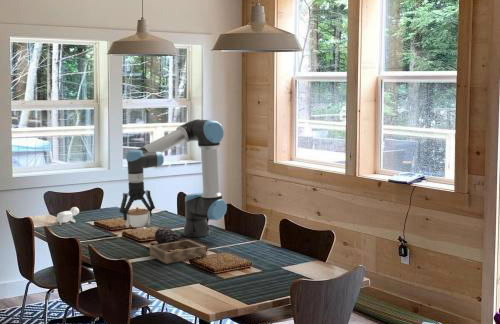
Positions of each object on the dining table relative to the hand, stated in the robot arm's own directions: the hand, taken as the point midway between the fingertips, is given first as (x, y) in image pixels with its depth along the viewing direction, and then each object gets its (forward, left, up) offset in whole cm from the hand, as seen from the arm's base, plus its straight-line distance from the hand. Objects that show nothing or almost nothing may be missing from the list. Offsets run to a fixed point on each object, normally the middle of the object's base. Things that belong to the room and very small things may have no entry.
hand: (138, 225), depth 364 cm
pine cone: (-20, -7, -16) cm, 27 cm away
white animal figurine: (+3, -97, -16) cm, 98 cm away
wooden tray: (-15, +13, -16) cm, 25 cm away
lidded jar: (0, 0, -1) cm, 1 cm away
